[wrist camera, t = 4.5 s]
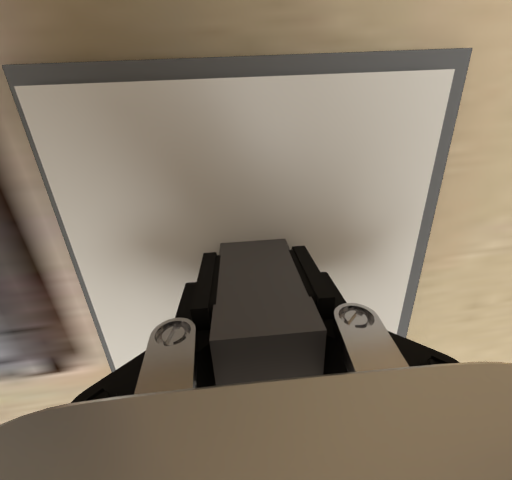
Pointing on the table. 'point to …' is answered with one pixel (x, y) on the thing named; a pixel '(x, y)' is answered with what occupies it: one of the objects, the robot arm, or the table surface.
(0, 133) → the table surface
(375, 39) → the table surface
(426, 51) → the mat
